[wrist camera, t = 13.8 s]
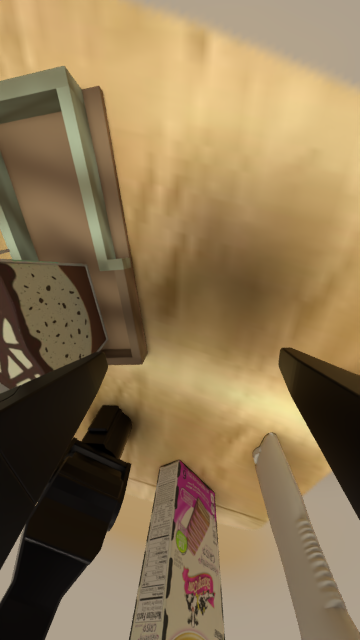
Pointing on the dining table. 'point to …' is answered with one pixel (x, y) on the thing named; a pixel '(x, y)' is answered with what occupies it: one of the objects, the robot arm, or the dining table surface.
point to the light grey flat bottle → (300, 550)
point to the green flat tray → (68, 195)
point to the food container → (45, 318)
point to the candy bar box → (180, 563)
